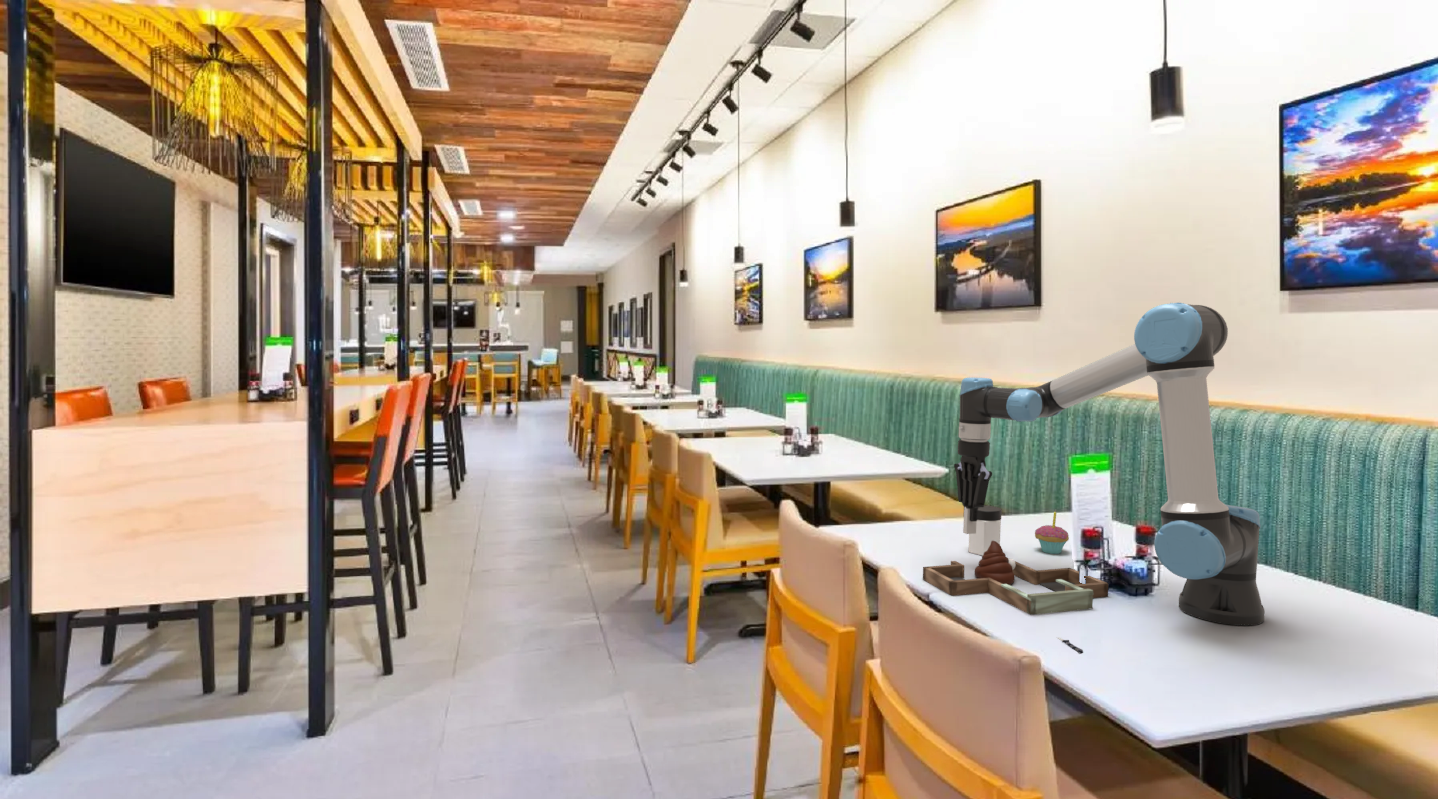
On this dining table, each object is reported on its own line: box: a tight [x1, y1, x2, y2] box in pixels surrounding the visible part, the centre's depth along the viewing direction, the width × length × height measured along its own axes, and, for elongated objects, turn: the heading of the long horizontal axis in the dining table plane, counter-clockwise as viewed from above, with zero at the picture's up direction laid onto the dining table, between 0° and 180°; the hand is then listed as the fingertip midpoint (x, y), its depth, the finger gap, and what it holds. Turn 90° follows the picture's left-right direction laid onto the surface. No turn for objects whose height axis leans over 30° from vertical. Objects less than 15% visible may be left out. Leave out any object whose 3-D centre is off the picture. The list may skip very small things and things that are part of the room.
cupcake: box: [1034, 509, 1070, 555], centre depth 211 cm, size 9×8×12 cm
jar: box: [968, 504, 1003, 557], centre depth 210 cm, size 9×8×12 cm
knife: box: [1056, 637, 1084, 654], centre depth 151 cm, size 19×2×1 cm, turn 15°
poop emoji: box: [973, 541, 1016, 586], centre depth 185 cm, size 10×8×9 cm
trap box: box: [922, 557, 1110, 616], centre depth 178 cm, size 30×34×4 cm
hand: (969, 532), depth 196 cm, fingers closed
